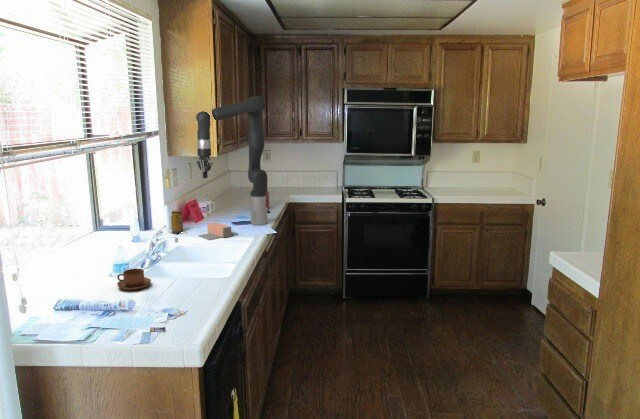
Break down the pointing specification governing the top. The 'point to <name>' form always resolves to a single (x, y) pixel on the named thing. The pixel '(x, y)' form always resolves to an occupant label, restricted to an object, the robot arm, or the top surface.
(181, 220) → the condiment
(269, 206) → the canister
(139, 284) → the cup and saucer
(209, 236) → the mat
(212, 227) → the block
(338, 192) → the top surface
